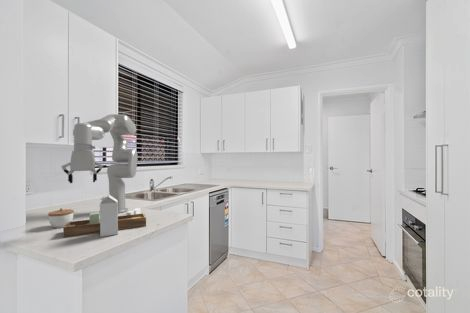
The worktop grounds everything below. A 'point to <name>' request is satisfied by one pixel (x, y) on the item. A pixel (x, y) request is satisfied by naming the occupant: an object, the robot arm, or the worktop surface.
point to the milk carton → (108, 216)
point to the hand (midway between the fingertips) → (82, 182)
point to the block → (94, 218)
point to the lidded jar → (60, 217)
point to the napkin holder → (134, 211)
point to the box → (87, 228)
